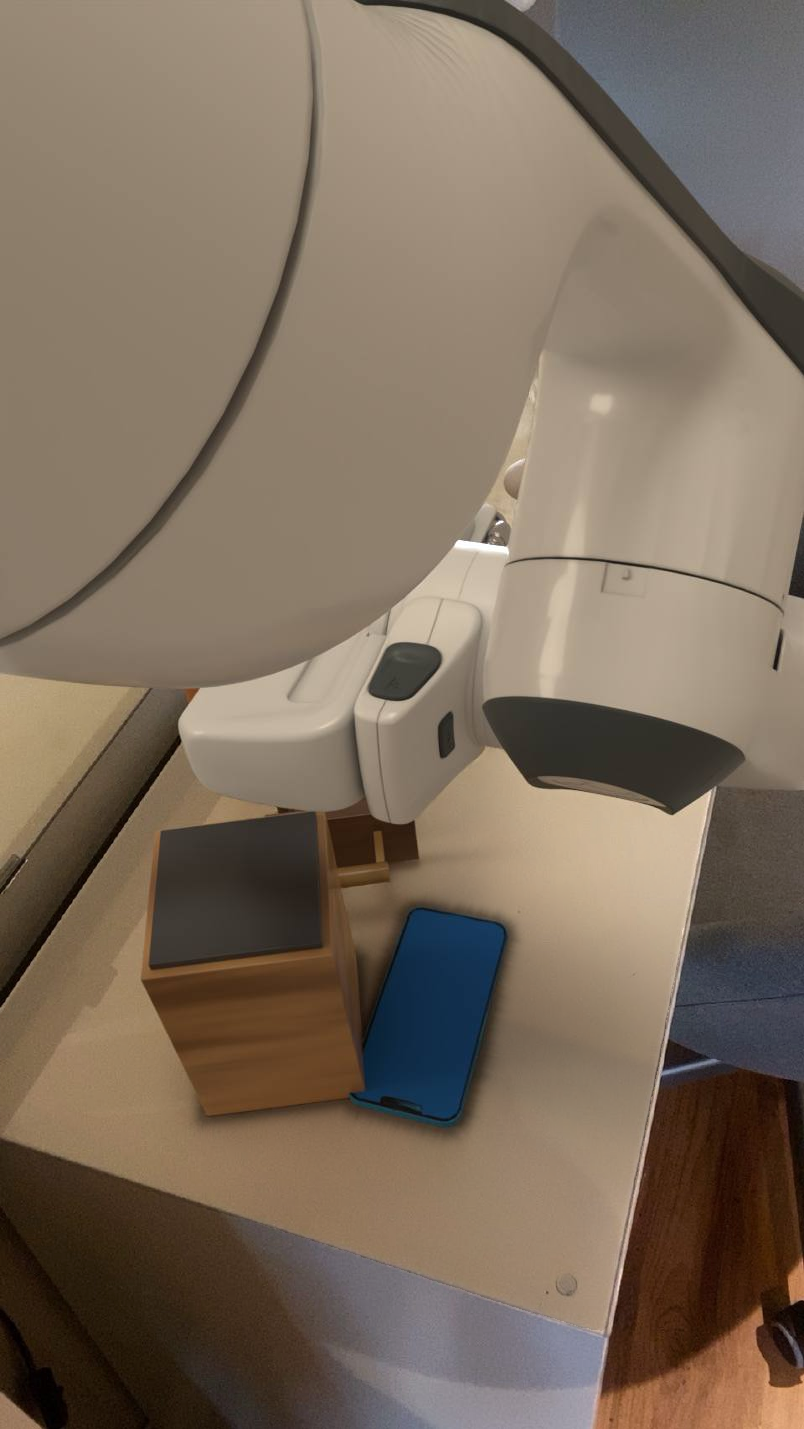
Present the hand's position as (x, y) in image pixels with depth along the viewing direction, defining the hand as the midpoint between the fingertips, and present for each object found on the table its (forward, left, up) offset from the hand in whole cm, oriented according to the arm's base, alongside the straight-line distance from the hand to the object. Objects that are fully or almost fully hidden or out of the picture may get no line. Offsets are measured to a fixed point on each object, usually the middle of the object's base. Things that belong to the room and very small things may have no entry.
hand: (189, 595), depth 51 cm
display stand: (-6, +1, -32) cm, 32 cm away
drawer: (+10, -4, -31) cm, 33 cm away
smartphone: (-6, -9, -32) cm, 34 cm away
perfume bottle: (+42, -26, -32) cm, 59 cm away
